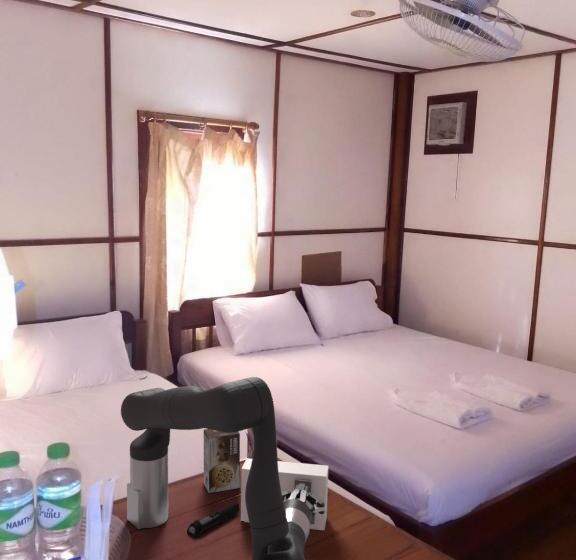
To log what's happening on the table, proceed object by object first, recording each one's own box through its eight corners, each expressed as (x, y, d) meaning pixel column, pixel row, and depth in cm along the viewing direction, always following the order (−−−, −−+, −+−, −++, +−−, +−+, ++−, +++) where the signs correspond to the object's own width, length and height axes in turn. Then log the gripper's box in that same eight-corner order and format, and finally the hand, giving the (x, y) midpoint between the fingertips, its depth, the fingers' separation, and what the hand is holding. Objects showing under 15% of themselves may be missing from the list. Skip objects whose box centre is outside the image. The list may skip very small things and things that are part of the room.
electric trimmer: (242, 515, 156) (243, 504, 155) (195, 539, 144) (195, 526, 144) (232, 510, 158) (233, 499, 158) (185, 533, 147) (185, 521, 146)
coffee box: (233, 478, 175) (234, 424, 172) (240, 488, 169) (241, 433, 167) (202, 483, 171) (203, 428, 169) (208, 493, 166) (208, 437, 163)
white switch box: (240, 522, 152) (241, 469, 150) (245, 509, 158) (246, 458, 156) (324, 531, 149) (326, 477, 147) (326, 517, 155) (328, 465, 153)
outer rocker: (293, 504, 147) (294, 480, 147) (294, 502, 148) (295, 478, 148) (310, 505, 146) (311, 482, 146) (310, 504, 147) (311, 480, 147)
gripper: (323, 512, 127) (330, 474, 144) (261, 505, 129) (275, 469, 146) (322, 545, 128) (329, 504, 145) (261, 538, 130) (274, 499, 147)
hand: (302, 487), depth 145 cm, fingers closed
